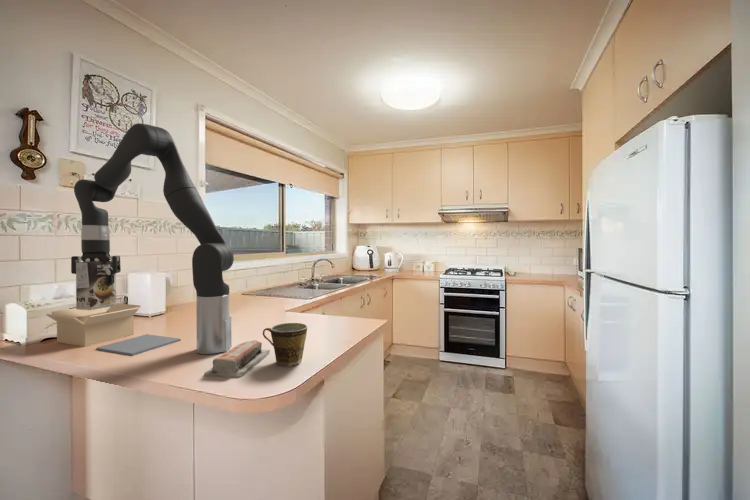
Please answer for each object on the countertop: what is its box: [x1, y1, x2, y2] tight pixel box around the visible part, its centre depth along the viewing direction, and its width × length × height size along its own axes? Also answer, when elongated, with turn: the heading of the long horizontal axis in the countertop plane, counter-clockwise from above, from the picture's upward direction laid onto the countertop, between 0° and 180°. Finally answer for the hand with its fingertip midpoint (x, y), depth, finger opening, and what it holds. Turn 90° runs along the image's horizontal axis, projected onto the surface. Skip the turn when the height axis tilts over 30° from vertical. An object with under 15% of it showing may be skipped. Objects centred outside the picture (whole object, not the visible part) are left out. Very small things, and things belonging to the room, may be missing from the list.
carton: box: [45, 302, 142, 347], centre depth 115 cm, size 20×21×10 cm
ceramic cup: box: [262, 322, 308, 367], centre depth 93 cm, size 13×10×10 cm
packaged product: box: [203, 339, 271, 378], centre depth 91 cm, size 18×5×10 cm
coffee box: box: [75, 260, 117, 310], centre depth 114 cm, size 9×6×16 cm
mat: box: [96, 333, 181, 356], centre depth 107 cm, size 16×16×1 cm
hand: (96, 285), depth 114 cm, fingers closed on coffee box, 7 cm apart
